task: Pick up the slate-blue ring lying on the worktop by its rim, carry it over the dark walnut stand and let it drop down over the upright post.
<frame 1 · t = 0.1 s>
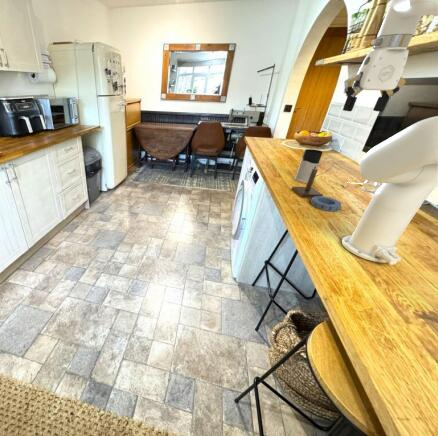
hand: (362, 111, 75), 37 cm above the counter, tool pointing down, fingers open, 9 cm apart
wineglass: (345, 182, 115), point 2 cm above the counter
stand: (306, 193, 110), on the counter
ring: (324, 205, 99), on the counter
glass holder: (308, 181, 123), on the counter
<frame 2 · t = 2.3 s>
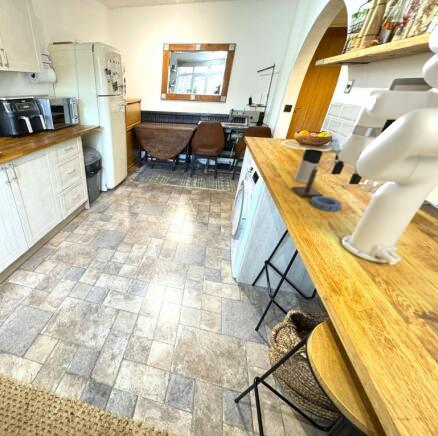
hand: (344, 178, 90), 13 cm above the counter, tool pointing down, fingers open, 9 cm apart
nothing on the counter moved.
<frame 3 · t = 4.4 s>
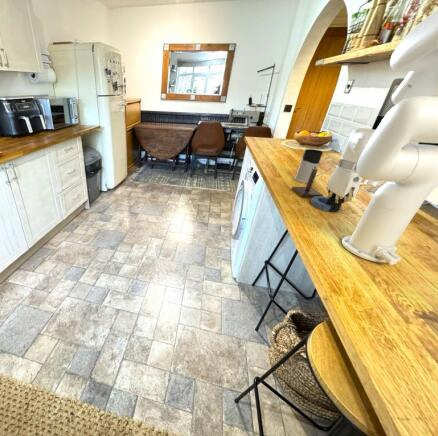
hand: (331, 209, 96), 0 cm above the counter, tool pointing down, fingers closed on ring, 2 cm apart
ring: (324, 205, 99), on the counter, touching gripper
everything else where it was.
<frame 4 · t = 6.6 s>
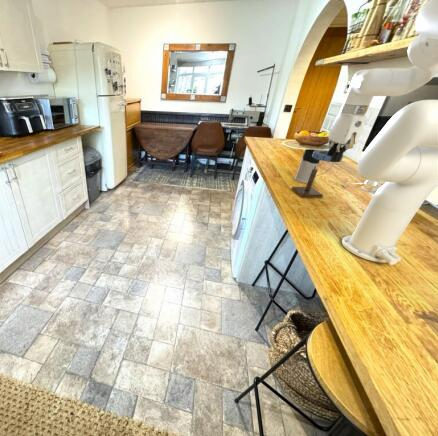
hand: (332, 160, 95), 18 cm above the counter, tool pointing down, fingers closed on ring
ring: (326, 158, 98), point 17 cm above the counter, touching gripper
everything else where it was.
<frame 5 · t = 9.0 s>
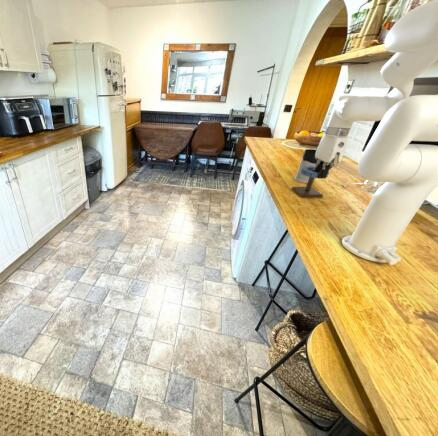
hand: (319, 176, 101), 10 cm above the counter, tool pointing down, fingers closed on ring
ring: (313, 174, 105), point 9 cm above the counter, touching gripper
everything else where it was.
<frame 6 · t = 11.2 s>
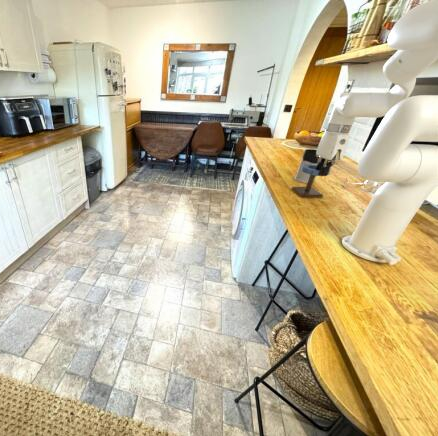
hand: (320, 174, 101), 11 cm above the counter, tool pointing down, fingers closed on ring
ring: (314, 172, 104), point 10 cm above the counter, touching gripper
everything else where it was.
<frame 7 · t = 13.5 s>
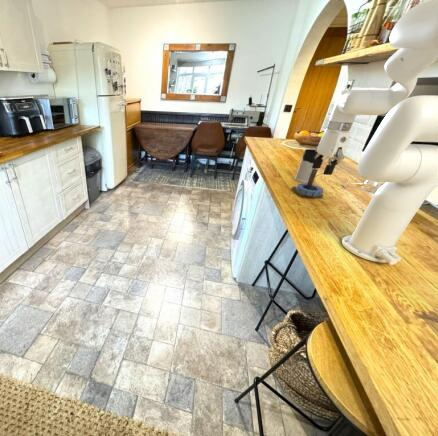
hand: (321, 170, 100), 12 cm above the counter, tool pointing down, fingers open, 7 cm apart
ring: (308, 191, 108), point 1 cm above the counter, touching stand
everything else where it was.
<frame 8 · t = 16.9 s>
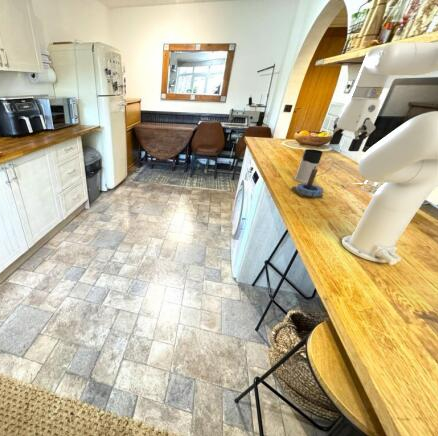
hand: (343, 147, 85), 24 cm above the counter, tool pointing down, fingers open, 9 cm apart
nothing on the counter moved.
at the end: ring 1.3 cm from the stand (horizontally); ring point 1.5 cm above the counter; the gripper is holding nothing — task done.
